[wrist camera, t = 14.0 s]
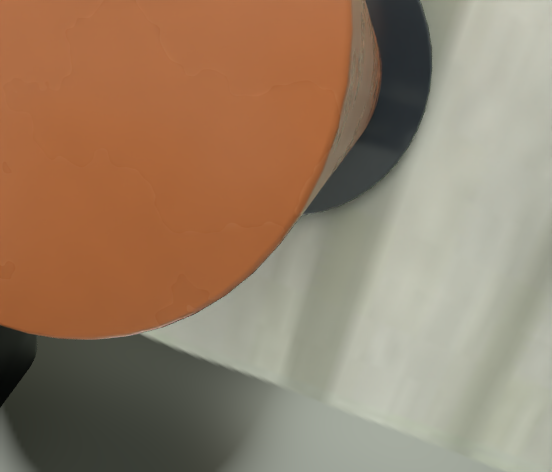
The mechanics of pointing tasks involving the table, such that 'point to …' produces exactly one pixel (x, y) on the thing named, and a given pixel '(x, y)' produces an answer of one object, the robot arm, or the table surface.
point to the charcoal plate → (386, 102)
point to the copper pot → (165, 149)
